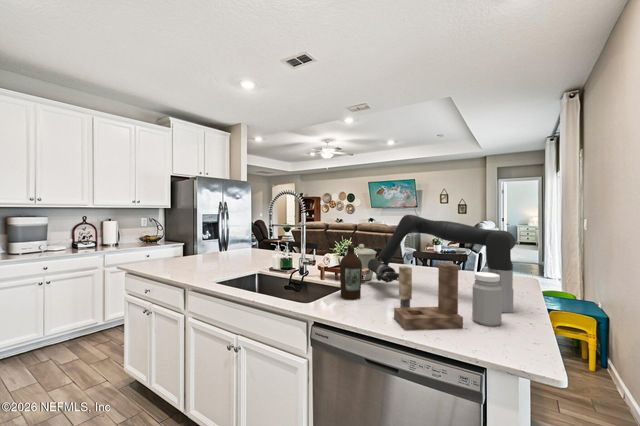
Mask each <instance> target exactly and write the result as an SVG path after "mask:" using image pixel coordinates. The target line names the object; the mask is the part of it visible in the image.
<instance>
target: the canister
mask: <svg viewBox="0 0 640 426" xmlns="http://www.w3.org/2000/svg"><path fill="white" fill-rule="evenodd" d="M357 248H358V249H357V250H356V251H354V253H355V254H356V253H358V254H357V255H358V258H359V259H360V260H361V263H362V269H364V268H368V262H369V261H370V260H371V259H376V254H377V251H375V250H374V249H372V248H365V244H363V243H360V244H358V247H357ZM373 276H374V272H372V271H371V272H370V274H368V275H366V276H365V280H364V281H368V280H372V278H373Z"/></svg>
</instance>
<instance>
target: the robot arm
mask: <svg viewBox="0 0 640 426" xmlns="http://www.w3.org/2000/svg"><path fill="white" fill-rule="evenodd" d="M409 233H410V234H424V235H425V234H426V235H430V236H433V237H434V238H435V237H436V238H438V239H440V240H443V241H447V242H451V243H457V244H468V245H480V246H484V247H485V260H486V263H487V267H488V273H495V274H498V275H499V276H500V281H498V282H499V283H500V285H499V286H500V287H501V289H502V313H504V314H505V313H508V314H509V313H510V314H511V313H514V288H513V287H514V286H513V284H514V283H513V281H514V277H513V276H514V275H513V274H514V272H513V271H514V264H513V262H512V258H511V250H512V249H514V248H515V246H516V244H517V243H516V241H517V240H516V238H515V236H514V235H513V234H512V233H511V232H509V231H506V230H497V229H487V228H481V227H476V226H471V225H468V224H464V223H461V222H454V221H450V220H449V221H448V220H434V219H433V220H432V219H428V218H424V217H421V216H419V215H414V214H404V215H403V217H402V218H401V219H400V220H399V222H398V223H397V226H396V229H395V230H394V231H393V234H392V235H391V237H390V238H389V240H388V241H387V243H386V244H385V245H384V247H383V248H382V249H381V251H380V252H379V254H378V257H379V259H380V260H381V261H380V260H378V259H376V258H375V259H371V260H370V261H369V262H368V269H369V270H371V271H372V272H373V274H375V279H376V280H377V281H379V282H381V281H382V282H385V283H391V282H393V281H397V282H399V272H396V269H394V268H393V267H391V266H389V265H390V262H391V261H392V259H393V258H394V257H395V256H396V255H397V253H398V251H399V249H400V247H401V244H402V243H403V240H404V239H405V237H406V236H408V234H409ZM382 261H383V262H382Z"/></svg>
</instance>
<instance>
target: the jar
mask: <svg viewBox="0 0 640 426" xmlns="http://www.w3.org/2000/svg"><path fill="white" fill-rule="evenodd" d="M498 281H500V276H499V275H498V274H495V273H488V272H483V271H481V272H480V271H479V272H478V271H477V272H474V283H473V284H472V312H471V313H472V314H471V315H472V316H471V317H472V320H473V321H474V322H475V323H477V324H479V325H482V326H487V327H496V326H499V325H501V324H502V316H503V315H502V313H503V312H502V289H501V287H500V286H499V285H500V283H499V282H498Z"/></svg>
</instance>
